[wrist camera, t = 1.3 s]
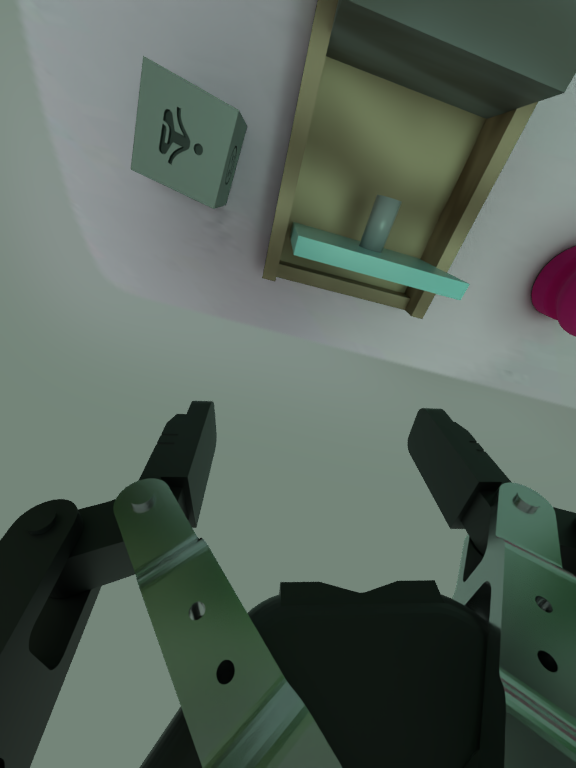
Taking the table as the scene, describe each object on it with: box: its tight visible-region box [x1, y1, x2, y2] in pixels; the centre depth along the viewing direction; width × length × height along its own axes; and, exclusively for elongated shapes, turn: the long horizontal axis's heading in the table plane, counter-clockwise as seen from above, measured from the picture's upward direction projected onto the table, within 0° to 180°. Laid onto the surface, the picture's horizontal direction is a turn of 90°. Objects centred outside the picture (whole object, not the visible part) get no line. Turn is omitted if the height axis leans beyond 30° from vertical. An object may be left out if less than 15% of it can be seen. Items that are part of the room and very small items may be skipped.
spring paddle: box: [290, 195, 469, 300], centre depth 19 cm, size 4×11×8 cm, turn 76°
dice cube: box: [131, 56, 247, 209], centre depth 19 cm, size 5×5×5 cm
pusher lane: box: [262, 0, 576, 319], centre depth 19 cm, size 16×14×7 cm
